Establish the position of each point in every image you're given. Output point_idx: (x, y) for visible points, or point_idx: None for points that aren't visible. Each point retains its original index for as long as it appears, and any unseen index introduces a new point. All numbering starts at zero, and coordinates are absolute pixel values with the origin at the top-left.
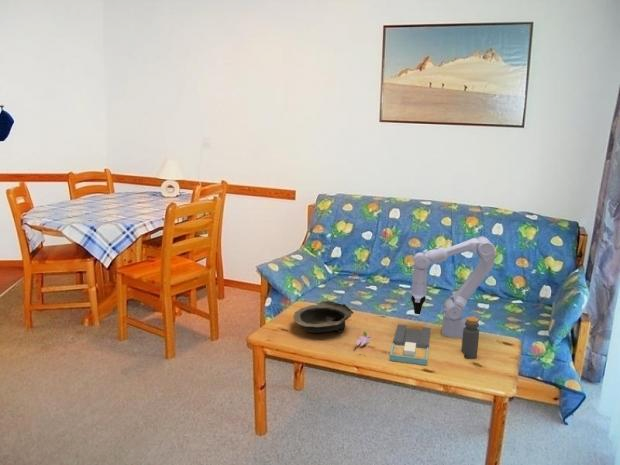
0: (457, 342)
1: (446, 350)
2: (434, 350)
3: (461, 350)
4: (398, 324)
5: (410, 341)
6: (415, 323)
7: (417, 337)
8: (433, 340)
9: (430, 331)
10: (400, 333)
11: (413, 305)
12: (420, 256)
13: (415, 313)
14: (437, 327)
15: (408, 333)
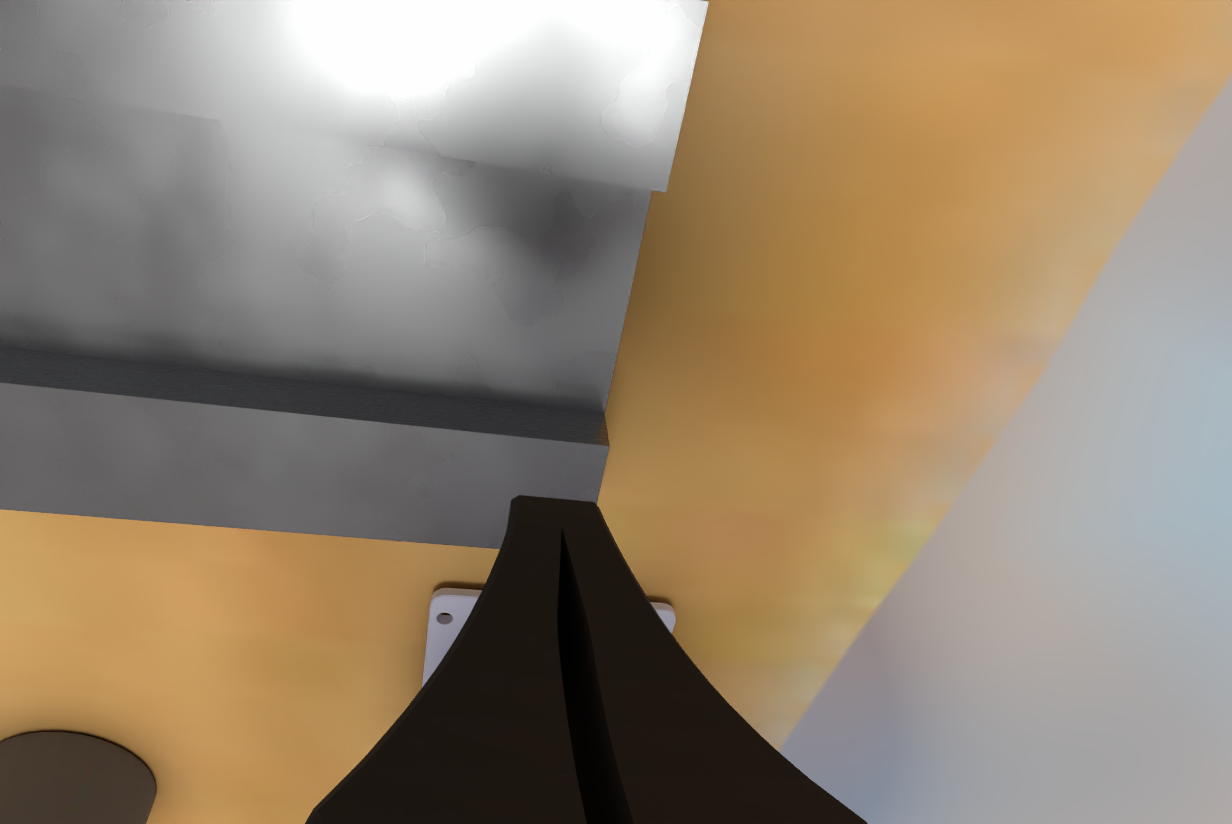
0: None
1: (105, 617)
2: None
3: (24, 775)
4: (697, 14)
5: (30, 200)
6: (1007, 330)
7: (279, 331)
8: None
9: None
10: (154, 15)
11: (449, 653)
12: None
13: (508, 517)
14: (839, 575)
15: (421, 193)
